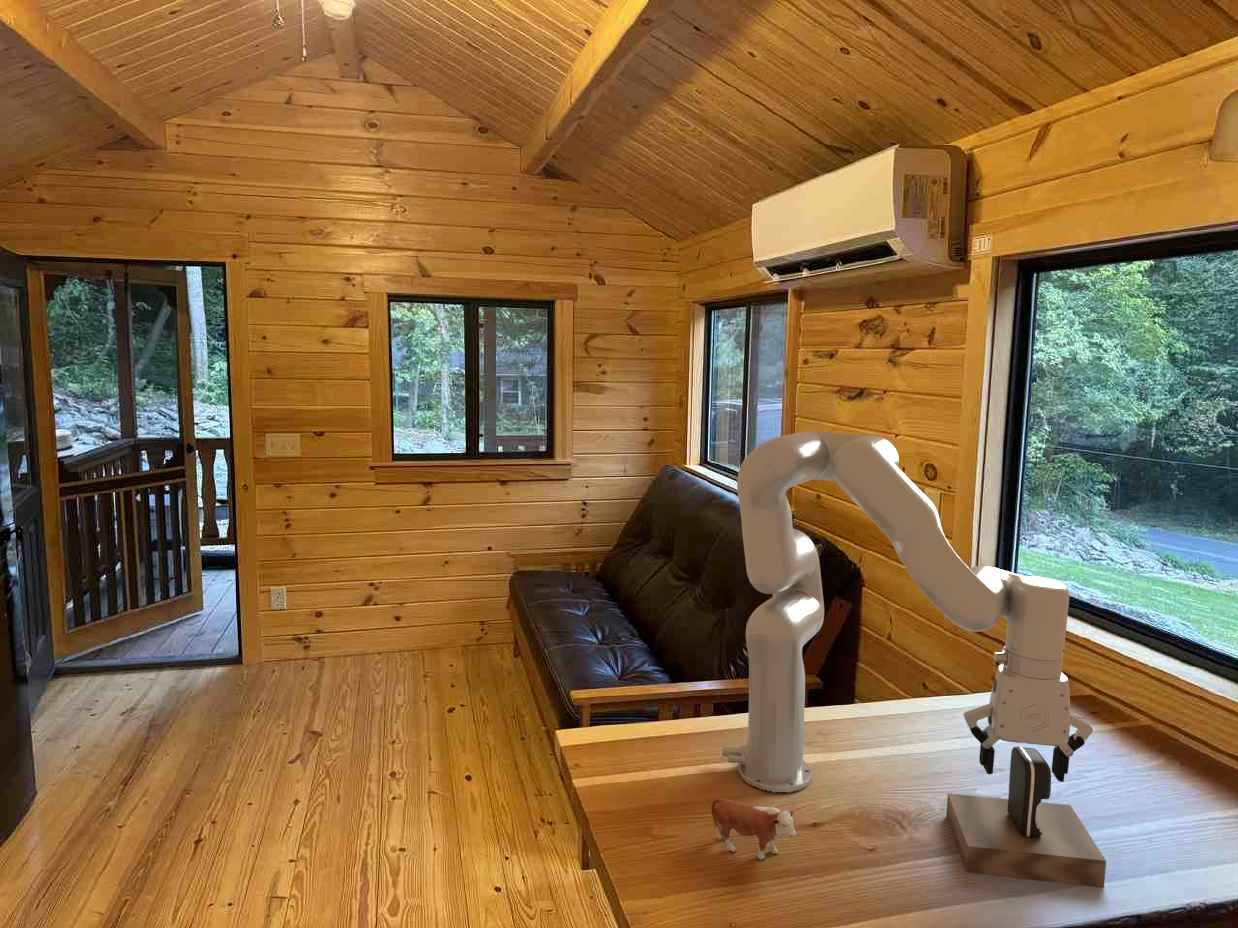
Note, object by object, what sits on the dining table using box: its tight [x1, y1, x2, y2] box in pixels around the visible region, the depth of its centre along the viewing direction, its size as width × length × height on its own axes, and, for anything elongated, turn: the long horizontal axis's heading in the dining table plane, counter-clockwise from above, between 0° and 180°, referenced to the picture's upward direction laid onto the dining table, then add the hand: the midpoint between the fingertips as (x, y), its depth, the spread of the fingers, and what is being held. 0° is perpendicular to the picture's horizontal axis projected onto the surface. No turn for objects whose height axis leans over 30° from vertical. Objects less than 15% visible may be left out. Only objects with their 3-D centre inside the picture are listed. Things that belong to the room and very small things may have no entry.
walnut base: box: [945, 793, 1107, 888], centre depth 121 cm, size 18×14×4 cm
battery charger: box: [1007, 745, 1052, 837], centre depth 119 cm, size 7×4×11 cm, turn 172°
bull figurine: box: [710, 797, 797, 860], centre depth 120 cm, size 4×13×8 cm, turn 58°
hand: (1022, 773), depth 119 cm, fingers open, 9 cm apart
